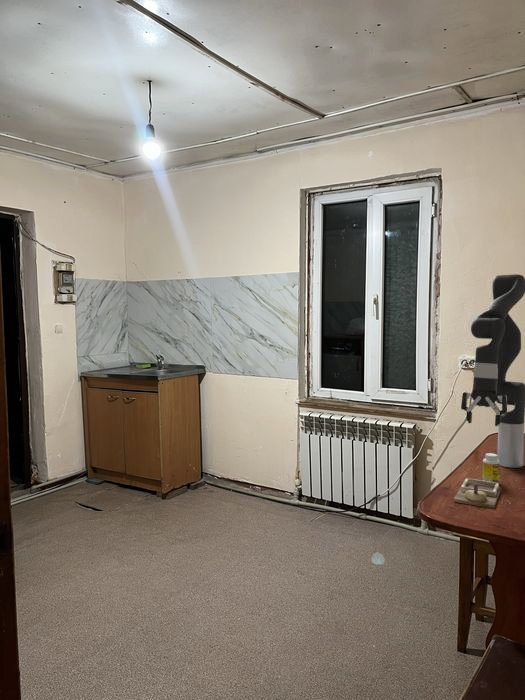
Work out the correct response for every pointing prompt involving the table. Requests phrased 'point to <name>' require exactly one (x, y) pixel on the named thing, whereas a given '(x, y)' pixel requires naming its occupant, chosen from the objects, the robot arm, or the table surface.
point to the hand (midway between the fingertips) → (482, 424)
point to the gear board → (484, 504)
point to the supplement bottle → (491, 468)
